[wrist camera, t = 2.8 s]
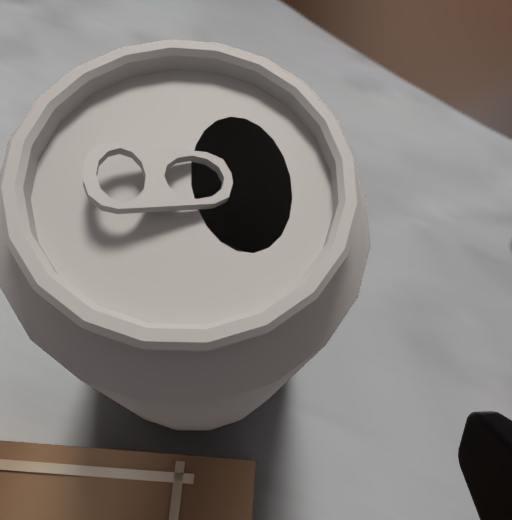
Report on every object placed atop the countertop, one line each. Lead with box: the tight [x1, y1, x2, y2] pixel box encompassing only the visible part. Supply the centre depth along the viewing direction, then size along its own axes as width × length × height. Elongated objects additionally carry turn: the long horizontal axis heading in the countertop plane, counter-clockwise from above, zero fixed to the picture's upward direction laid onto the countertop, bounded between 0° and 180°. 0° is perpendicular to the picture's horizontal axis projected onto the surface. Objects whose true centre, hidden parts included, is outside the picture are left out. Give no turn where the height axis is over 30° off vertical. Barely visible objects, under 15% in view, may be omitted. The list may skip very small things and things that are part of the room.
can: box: [0, 39, 370, 431], centre depth 14 cm, size 8×8×12 cm
